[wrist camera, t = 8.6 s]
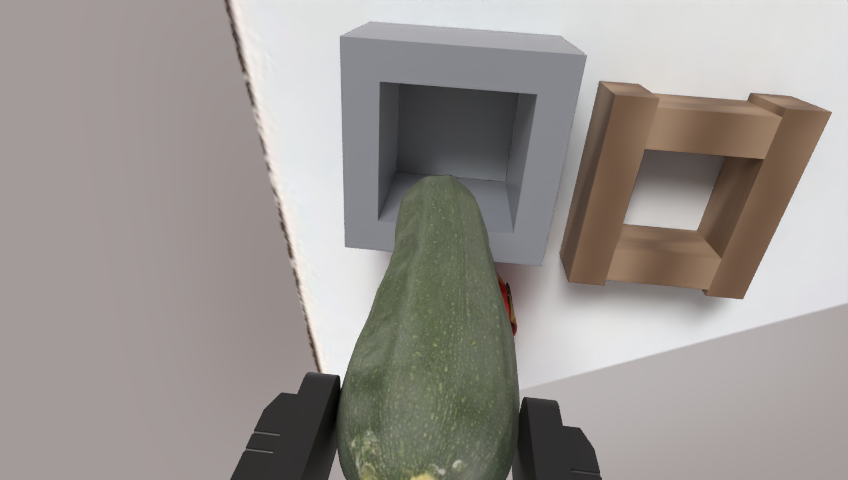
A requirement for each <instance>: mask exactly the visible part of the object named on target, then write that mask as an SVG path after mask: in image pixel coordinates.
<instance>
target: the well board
mask: <svg viewBox="0 0 848 480" xmlns="http://www.w3.org/2000/svg"><path fill="white" fill-rule="evenodd" d="M831 113H832V112H830V111H828V110H825V109H823V108H820V107H817V106H815V105H812V104H810V103H807V102H805V101H802V100H799V99H797V98H794V97H792V96H782V95H769V94H757V93H750V96H749V98H748V101H742V100H729V99H717V98H704V97H691V96H679V95H666V94H654V93H651V92H650V91H648V90H647V89H645V88H644V87H642V86H641V85H639V84H630V83H617V82H604V81H599V86H598V90H597V94H596V99H595V103H594V107H593V112H592V116H591V120H590V125H589V129H588V133H587V137H586V142H585V146H584V150H583V155H582V159H581V163H580V168H579V172H578V176H577V181H576V185H575V189H574V194H573V198H572V202H571V206H570V211H569V215H568V219H567V224H566V228H565V232H564V237H563V241H562V245H561V250H560V256H561V259H562V262H563V266H564V269H565V272H566V275H567V279H568V282H573V283H583V284H593V285H603V286H604V285H605V282H606V280H614V281H624V282H634V283H645V284H655V285H665V286H675V287H685V288H695V289H702V291H703V292H704V294H705V295H706V296H714V297H724V298H735V299H743V298H744V296H745V294H746V292H747V289H748V287H749V285H750V283H751V281H752V279H753V277H754V275H755V273H756V271H757V268H758V266H759V264H760V262H761V260H762V258H763V256H764V254H765V252H766V250H767V248H768V245H769V243H770V241H771V239H772V237H773V235H774V233H775V231H776V229H777V227H778V224H779V222H780V220H781V218H782V216H783V214H784V212H785V210H786V208H787V206H788V203H789V201H790V199H791V197H792V195H793V193H794V191H795V189H796V187H797V185H798V183H799V180H800V178H801V176H802V174H803V172H804V170H805V168H806V166H807V164H808V162H809V159H810V157H811V155H812V153H813V151H814V149H815V147H816V145H817V143H818V141H819V138H820V136H821V134H822V132H823V130H824V128H825V126H826V124H827V122H828V120H829V118H830V115H831ZM645 149H652V150H663V151H675V152H687V153H699V154H710V155H722V156H726V158H725V160H724V163H723V166H722V168H721V171H720V173H719V176H718V179H717V181H716V184H715V186H714V189H713V192H712V194H711V197H710V199H709V202H708V204H707V207H706V210H705V212H704V215H703V217H702V220H701V223H700V225H699V228H698V230H697V231H692V230H681V229H671V228H660V227H649V226H638V225H627V224H623V221H624V218H625V214H626V211H627V208H628V204H629V201H630V197H631V194H632V191H633V187H634V184H635V181H636V177H637V174H638V170H639V167H640V164H641V160H642V157H643V154H644V150H645Z"/></svg>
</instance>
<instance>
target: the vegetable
mask: <svg viewBox="0 0 848 480" xmlns="http://www.w3.org/2000/svg"><path fill="white" fill-rule="evenodd" d="M519 406H520V402H519V385H518V374H517V364H516V354H515V345H514V336H513V332H512V327H511V323H510V319H509V316H508V313H507V310H506V307H505V304H504V301H503V298H502V294H501V291H500V287H499V283H498V278H497V274H496V270H495V266H494V259H493V256H492V252H491V249H490V247H489V238H488V233H487V229H486V226H485V223H484V220H483V217H482V213H481V210H480V208H479V206H478V204H477V201H476V199H475V197H474V195H473V194H472V193H471V191H470V190H469V189H468V188H467V187H466V186H464V185H463V184H462V183H460V182H459V181H458V180H457V179H455V178H454V177H453V176H451V175H442V176H428V177H424V178H422V179H421V180H420V181H418V182H417V183H416V184H415V185H413V186H412V187H411V188H409V189H408V190H407V191H406V193H405V195H404V197H403V199H402V201H401V203H400V207H399V212H398V217H397V222H396V228H395V246H394V250H393V254H392V257H391V261H390V264H389V267H388V269H387V271H386V274H385V276H384V278H383V280H382V282H381V284H380V286H379V288H378V290H377V292H376V296H375V299H374V302H373V305H372V308H371V311H370V314H369V316H368V319H367V321H366V323H365V325H364V327H363V329H362V332H361V334H360V336H359V338H358V340H357V342H356V345H355V348H354V351H353V353H352V356H351V359H350V362H349V365H348V368H347V371H346V375H345V378H344V381H343V384H342V388H341V393H340V398H339V403H338V410H337V417H336V424H335V431H336V443H337V449H338V455H339V461H340V465H341V468H342V471H343V474H344V476H345V478H346V480H506V478H507V476H508V474H509V471H510V469H511V465H512V462H513V458H514V454H515V450H516V446H517V440H518V430H519Z"/></svg>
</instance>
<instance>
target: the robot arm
mask: <svg viewBox="0 0 848 480" xmlns="http://www.w3.org/2000/svg"><path fill="white" fill-rule="evenodd" d="M340 393H341V387H340V376H339V375H331V374H322V373H314V372H308V373H307V374H306V375H305V377H304V379H303V382H302V384H301V386H300V389H299V391H298V394H289V393H281V394H279V395H278V396H277V397H276V398H275V399H274V400H273V401H272V402H271V403H270V404H269V405H268V406H267V407H266V408H265V409H264V411H263V413H262V415H261V417H260V419H259V421H258V423H257V425H256V427H255V429H254V434H252V436H251V438H250V440H249V442H248V444H247V446H246V450H245V452H243V454H242V456H241V459H240V460H239V463H238V465H237V467H236V469H235V471H234V473H233V475H232V477H231V479H230V480H328V478H329V474H330V471H331V467H332V464H333V460H334V457H335V454H336V450H337V443H336V431H335V424H336V417H337V410H338V403H339V398H340ZM512 476H513V480H602V478H601V477H600V470H599V466H598V462H597V458H596V454H595V450H594V448H593V447H592V445H591V443H590V442H589V441H588V439H587V438H586V436H585V435H584V433H583V432H582V430H581V429H580V428H577V427H569V426H563V424H562V419H561V415H560V409H559V405H558V402H557V401H555V400H547V399H538V398H528V397H524V398H523V400H522V404H521V409H520V413H519V430H518V440H517V446H516V450H515V454H514V458H513V462H512Z"/></svg>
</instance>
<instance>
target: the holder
mask: <svg viewBox="0 0 848 480" xmlns="http://www.w3.org/2000/svg"><path fill="white" fill-rule="evenodd" d="M586 57H587V55H586V54H585V53H583V52H582V51H581V50H579V49H578V48H576V47H575V46H574V45H572V44H571V43H570V42H568V41H567V40H565V39H564V38H563V37H561V36H555V35H541V34H528V33H514V32H501V31H488V30H474V29H461V28H447V27H434V26H421V25H407V24H394V23H380V22H369V23H367V24H365V25H362V26H360V27H358V28H356V29H354V30H352V31H350V32H348V33H346V34H344V35H342V36H340V60H341V102H342V143H343V184H344V225H345V247H350V248H360V249H370V250H380V251H391V252H393V250H394V246H395V228H396V222H397V217H398V212H399V207H400V203H401V201H402V199H403V197H404V195H405V193H406V191H407V190H408V189H409V188H411V187H412V186H413V185H415V184H416V183H417V182H418V181H420V180H421V179H422V178H424V177H428V176H434V175H423V174H412V173H400V172H397V142H398V112H399V83H403V84H416V85H428V86H441V87H453V88H466V89H478V90H490V91H503V92H515V93H519V97H518V104H517V110H516V117H515V123H514V130H513V136H512V142H511V149H510V155H509V162H508V168H507V175H506V181H505V182H501V181H490V180H478V179H467V178H456V177H454V178H455V179H457V180H458V181H459V182H460V183H462V184H463V185H464V186H466V187H467V188H468V189H469V190H470V191H471V193H472V194H473V195H474V197H475V199H476V201H477V204H478V206H479V208H480V210H481V213H482V217H483V220H484V223H485V226H486V229H487V233H488V238H489V247H490V249H491V252H492V256H493V259H494V262H503V263H513V264H524V265H534V266H542V263H543V258H544V254H545V249H546V244H547V240H548V235H549V230H550V226H551V221H552V216H553V212H554V207H555V202H556V198H557V193H558V188H559V184H560V179H561V174H562V169H563V165H564V160H565V155H566V151H567V146H568V141H569V137H570V132H571V127H572V123H573V118H574V113H575V109H576V104H577V99H578V95H579V90H580V85H581V81H582V76H583V71H584V67H585V62H586Z"/></svg>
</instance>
